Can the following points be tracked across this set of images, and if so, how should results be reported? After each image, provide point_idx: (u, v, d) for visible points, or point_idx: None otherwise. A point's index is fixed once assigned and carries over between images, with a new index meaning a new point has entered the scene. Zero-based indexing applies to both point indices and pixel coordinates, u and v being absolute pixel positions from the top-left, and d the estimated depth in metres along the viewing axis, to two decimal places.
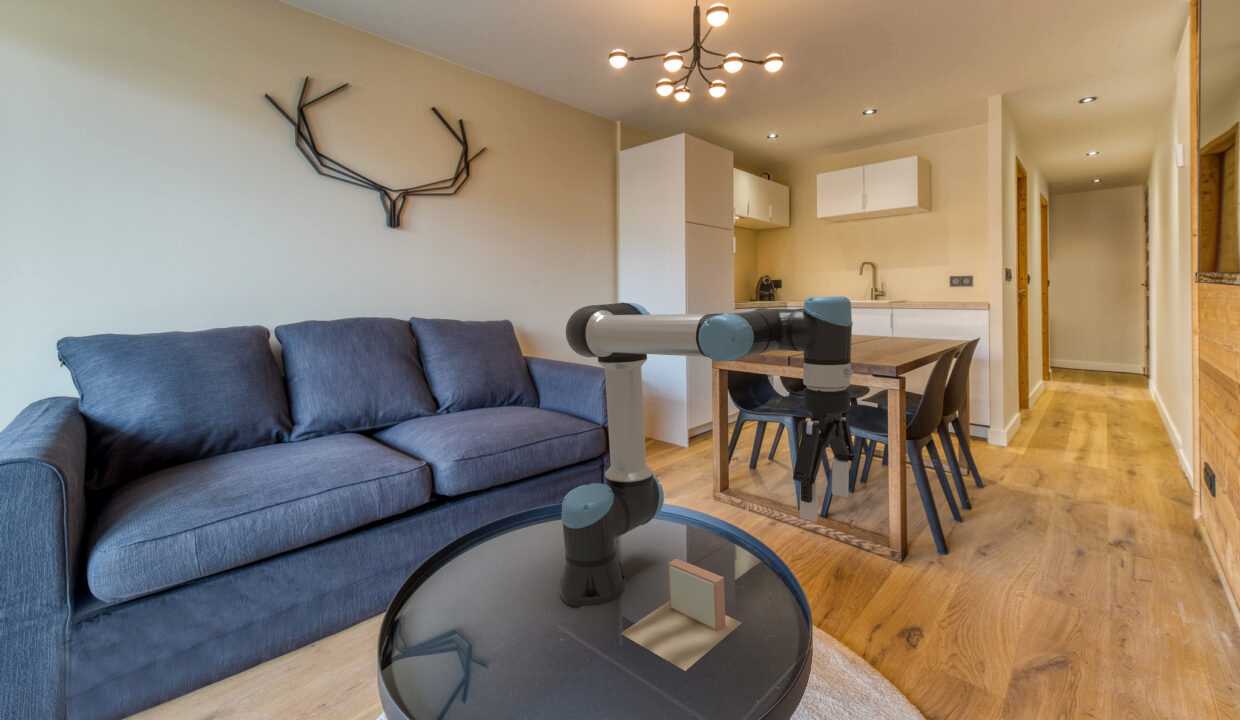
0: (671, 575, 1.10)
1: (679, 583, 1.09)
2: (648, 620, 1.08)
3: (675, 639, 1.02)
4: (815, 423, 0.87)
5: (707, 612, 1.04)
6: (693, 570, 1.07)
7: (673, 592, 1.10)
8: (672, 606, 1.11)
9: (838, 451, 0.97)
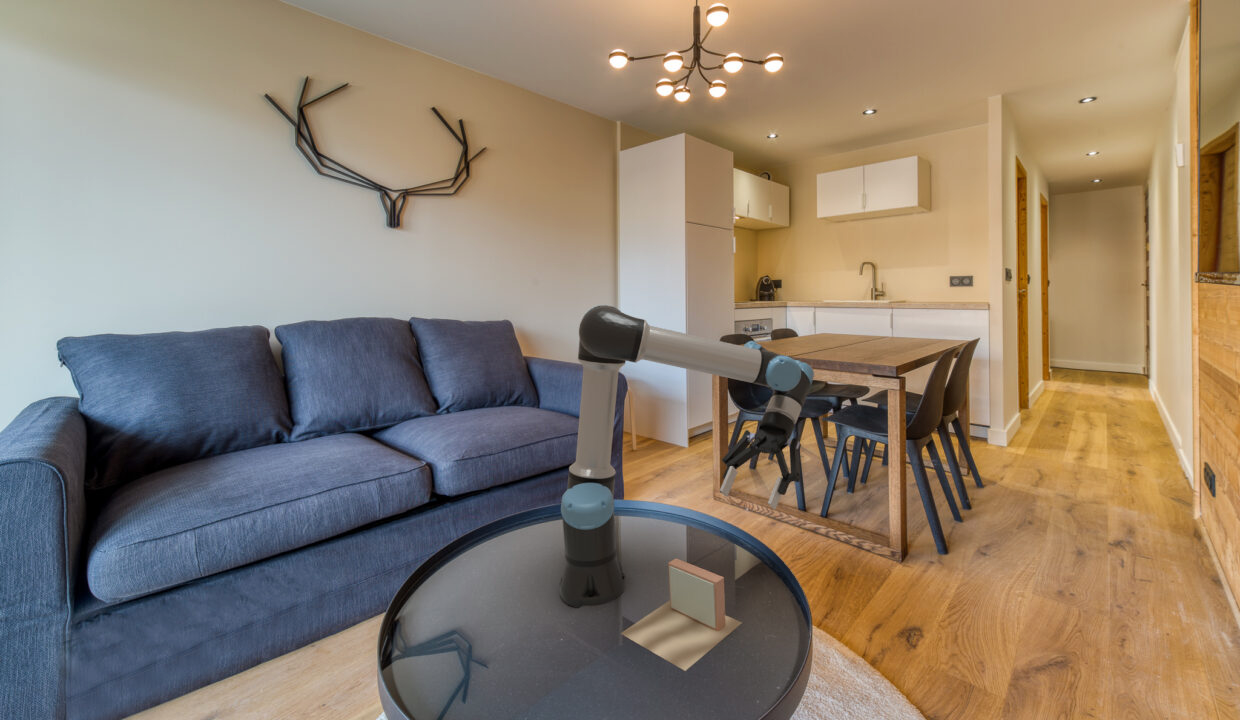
0: (671, 575, 1.10)
1: (679, 583, 1.09)
2: (648, 620, 1.08)
3: (675, 639, 1.02)
4: (799, 443, 1.22)
5: (707, 612, 1.04)
6: (693, 570, 1.07)
7: (673, 592, 1.10)
8: (672, 606, 1.11)
9: (740, 461, 1.27)
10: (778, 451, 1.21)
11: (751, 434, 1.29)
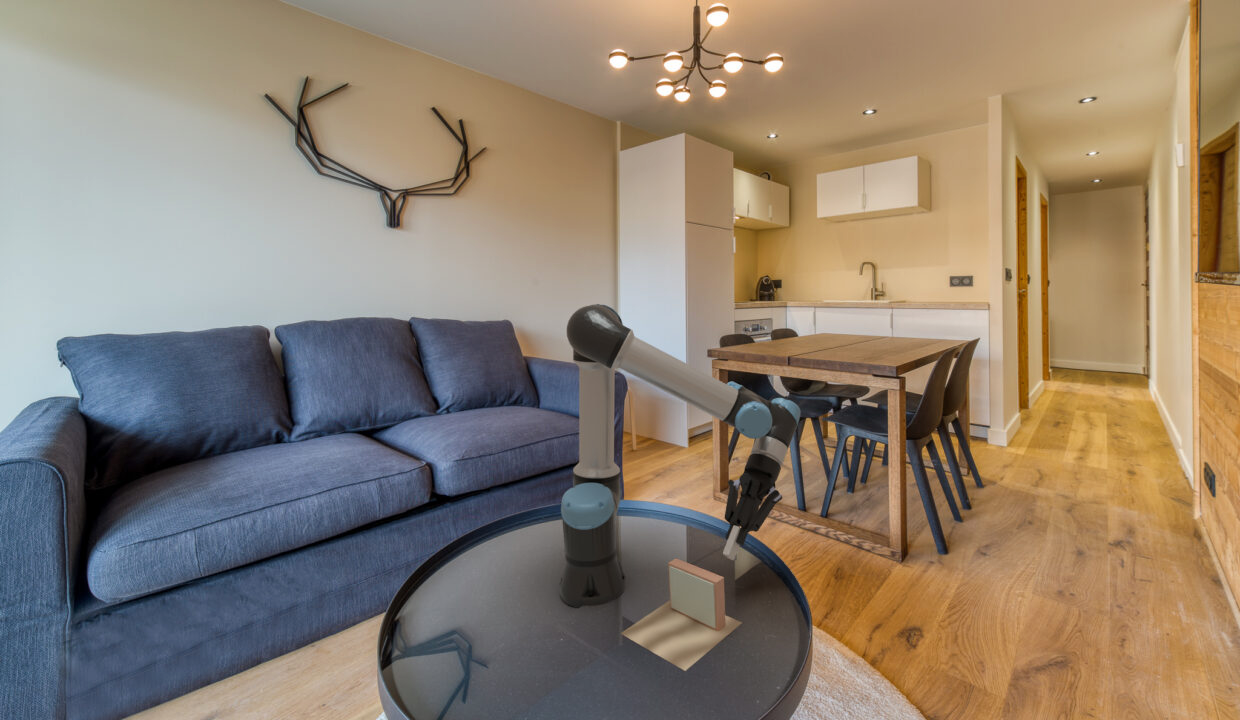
0: (671, 575, 1.10)
1: (679, 583, 1.09)
2: (648, 620, 1.08)
3: (675, 639, 1.02)
4: (781, 496, 1.16)
5: (707, 612, 1.04)
6: (693, 570, 1.07)
7: (673, 592, 1.10)
8: (672, 606, 1.11)
9: (741, 515, 1.18)
10: (754, 498, 1.17)
11: (735, 481, 1.24)
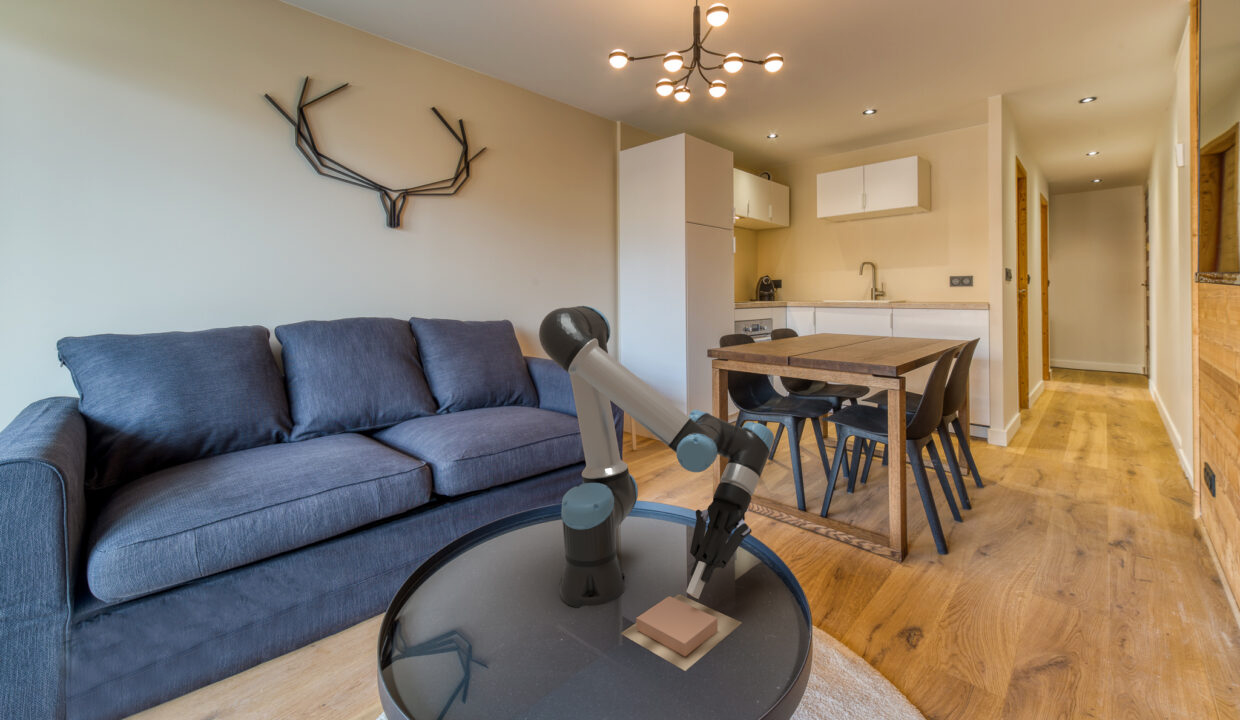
0: None
1: None
2: None
3: None
4: (750, 530, 1.09)
5: None
6: (659, 638, 1.01)
7: None
8: None
9: (707, 549, 1.10)
10: (721, 532, 1.09)
11: (703, 512, 1.16)
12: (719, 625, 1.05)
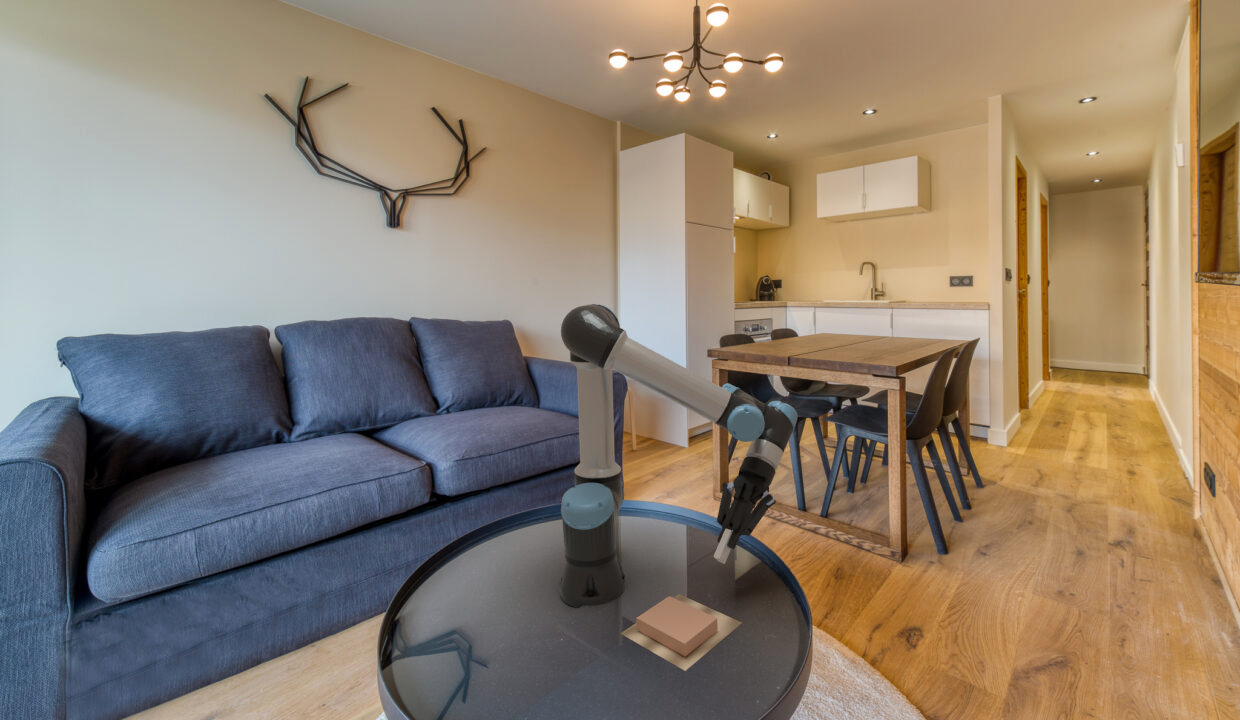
0: None
1: None
2: None
3: None
4: (775, 500, 1.15)
5: None
6: (659, 638, 1.01)
7: None
8: None
9: (733, 518, 1.17)
10: (747, 502, 1.16)
11: (729, 484, 1.22)
12: (719, 625, 1.05)
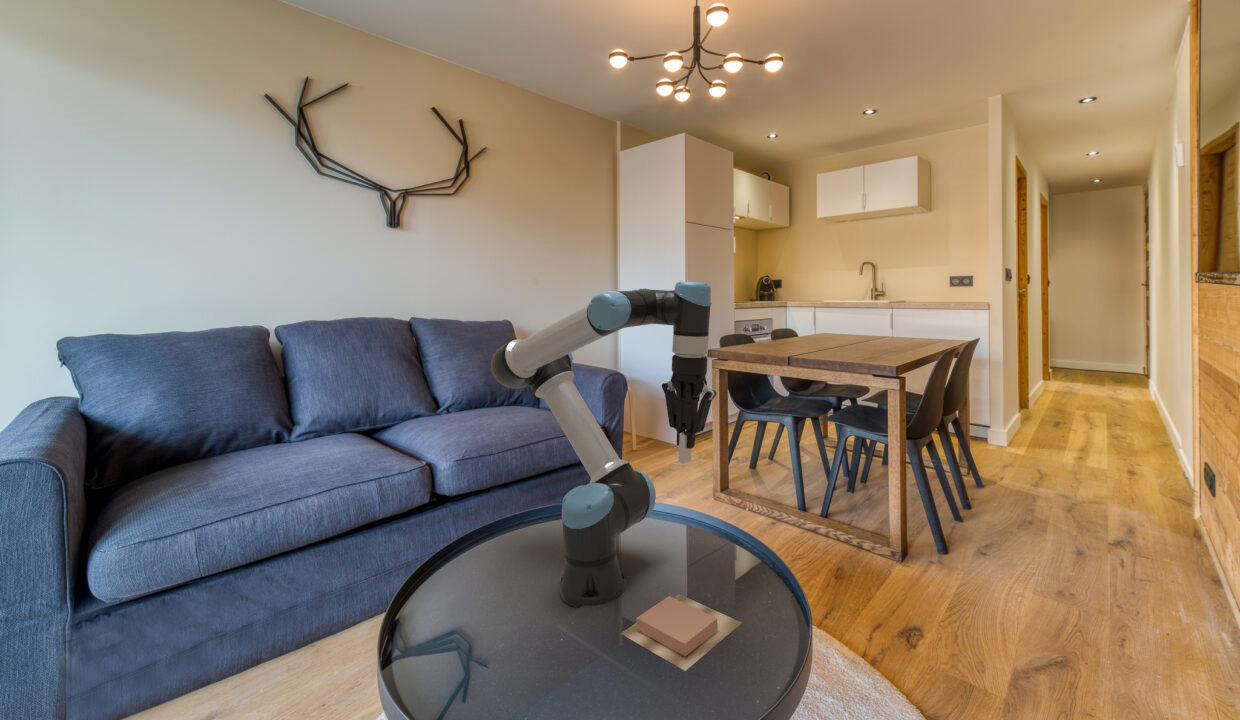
0: None
1: None
2: None
3: None
4: (715, 392, 1.11)
5: None
6: (659, 638, 1.01)
7: None
8: None
9: (684, 418, 1.16)
10: (689, 403, 1.13)
11: (668, 383, 1.18)
12: (719, 625, 1.05)
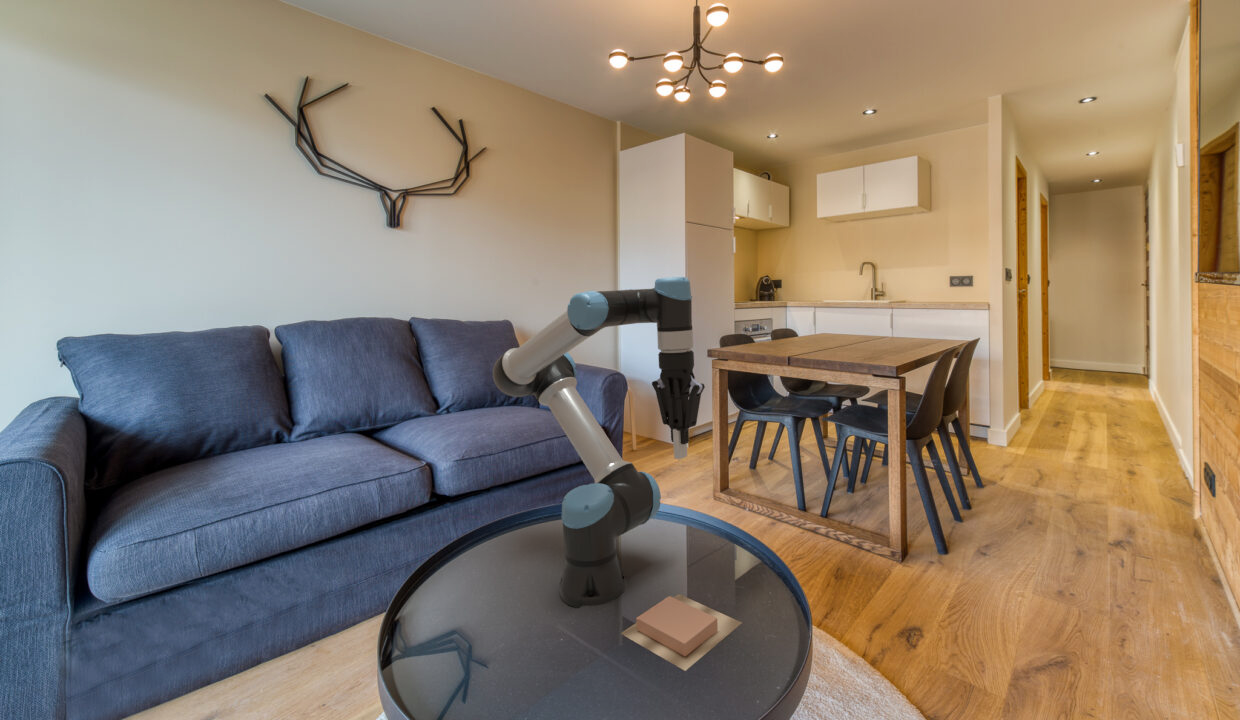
0: None
1: None
2: None
3: None
4: (703, 385, 1.11)
5: None
6: (659, 638, 1.01)
7: None
8: None
9: (676, 414, 1.16)
10: (679, 398, 1.13)
11: (658, 381, 1.18)
12: (719, 625, 1.05)
